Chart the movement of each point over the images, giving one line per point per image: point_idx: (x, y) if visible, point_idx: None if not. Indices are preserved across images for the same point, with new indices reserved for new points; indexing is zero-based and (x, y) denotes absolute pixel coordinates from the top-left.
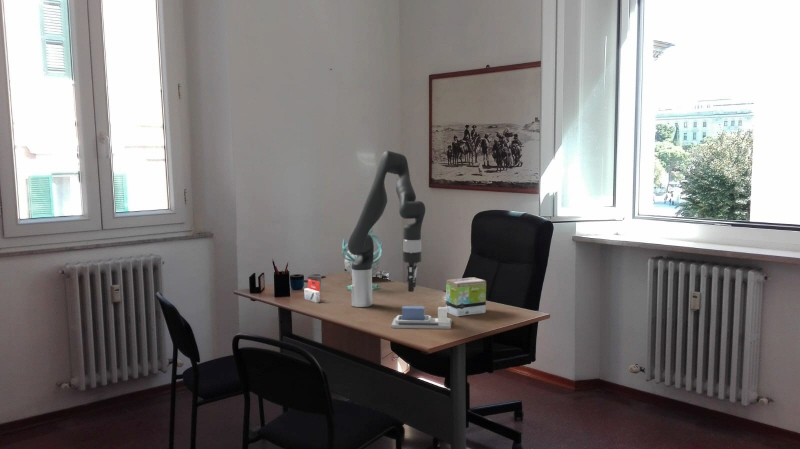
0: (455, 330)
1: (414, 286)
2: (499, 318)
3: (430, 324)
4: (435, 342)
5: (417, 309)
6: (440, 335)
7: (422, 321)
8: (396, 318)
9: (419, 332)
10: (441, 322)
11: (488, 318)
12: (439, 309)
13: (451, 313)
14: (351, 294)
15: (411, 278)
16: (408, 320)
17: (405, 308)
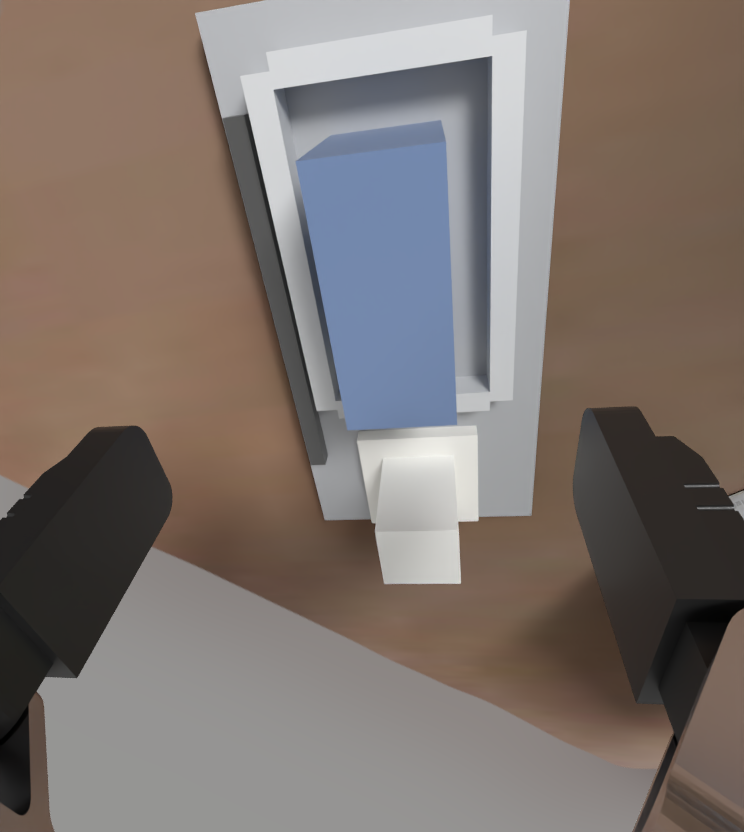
0: (299, 527)
1: (580, 488)
2: (588, 681)
3: (300, 411)
4: (10, 452)
5: (336, 362)
6: (161, 465)
7: (306, 361)
8: (336, 49)
9: (170, 334)
10: (364, 476)
11: (592, 648)
12: (376, 538)
13: (740, 498)
14: None
15: (665, 624)
16: (284, 231)
17: (307, 216)
